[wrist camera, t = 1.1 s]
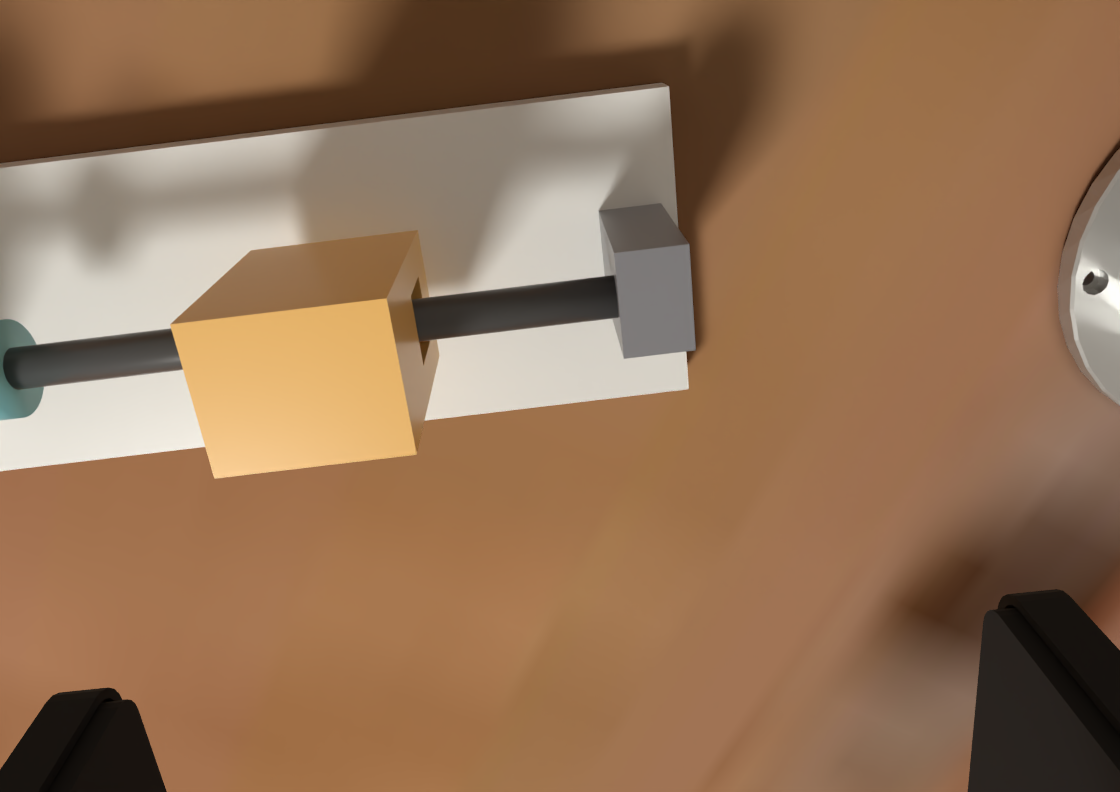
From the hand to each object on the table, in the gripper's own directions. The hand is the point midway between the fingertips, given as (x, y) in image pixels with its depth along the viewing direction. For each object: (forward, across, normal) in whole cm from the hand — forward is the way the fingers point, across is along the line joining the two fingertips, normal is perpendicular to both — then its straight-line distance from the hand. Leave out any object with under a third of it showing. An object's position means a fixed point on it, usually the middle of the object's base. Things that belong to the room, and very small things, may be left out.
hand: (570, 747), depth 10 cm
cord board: (+23, +9, 0) cm, 25 cm away
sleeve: (+20, +6, 0) cm, 21 cm away
